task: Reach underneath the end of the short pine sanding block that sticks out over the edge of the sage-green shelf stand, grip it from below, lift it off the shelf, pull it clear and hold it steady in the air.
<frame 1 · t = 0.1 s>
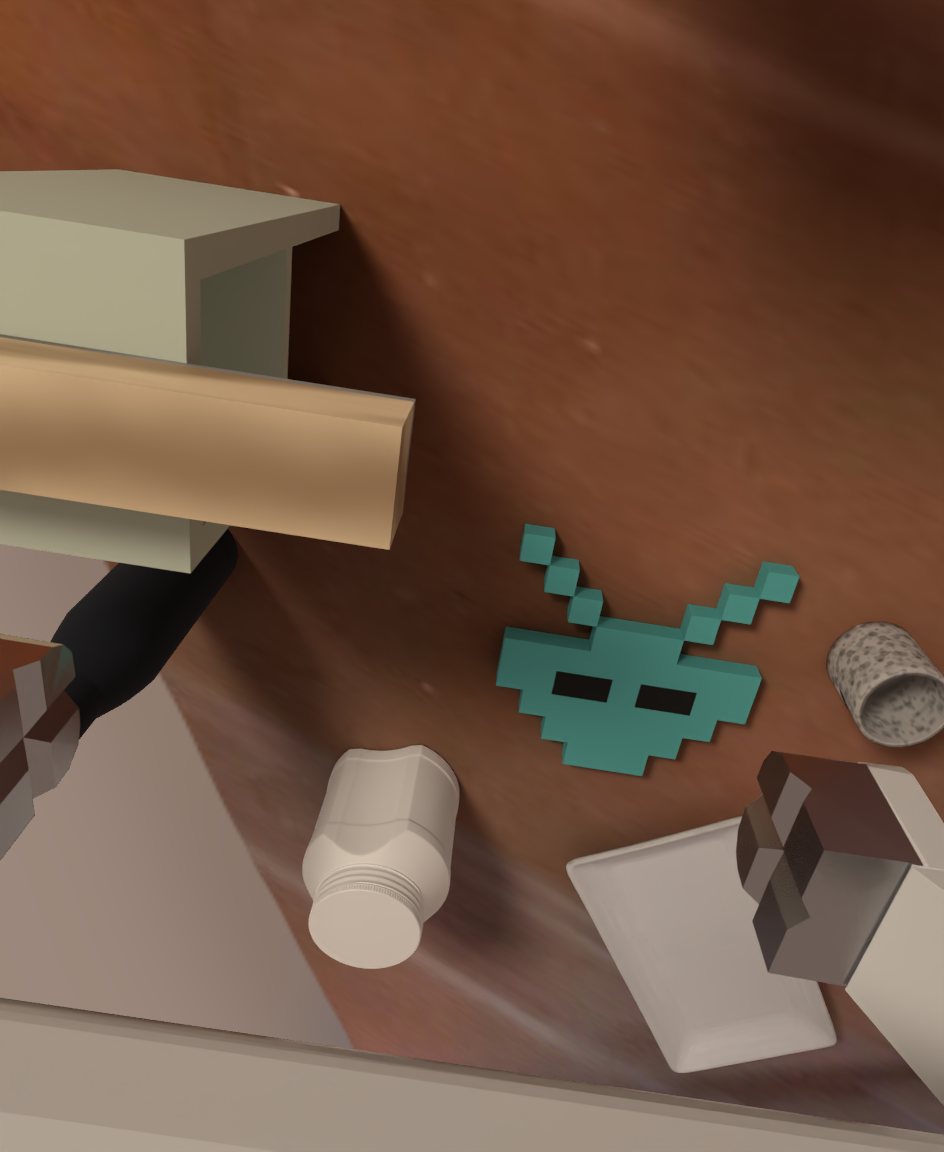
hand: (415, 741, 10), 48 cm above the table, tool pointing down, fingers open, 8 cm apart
grey speckled cup: (889, 663, 64), on the table
alien figure: (626, 653, 66), on the table
tray: (702, 929, 79), on the table
shelf stand: (229, 294, 54), on the table
jar: (395, 787, 73), on the table
sanding block: (161, 418, 31), point 26 cm above the table, touching shelf stand
wine bottle: (197, 547, 63), on the table
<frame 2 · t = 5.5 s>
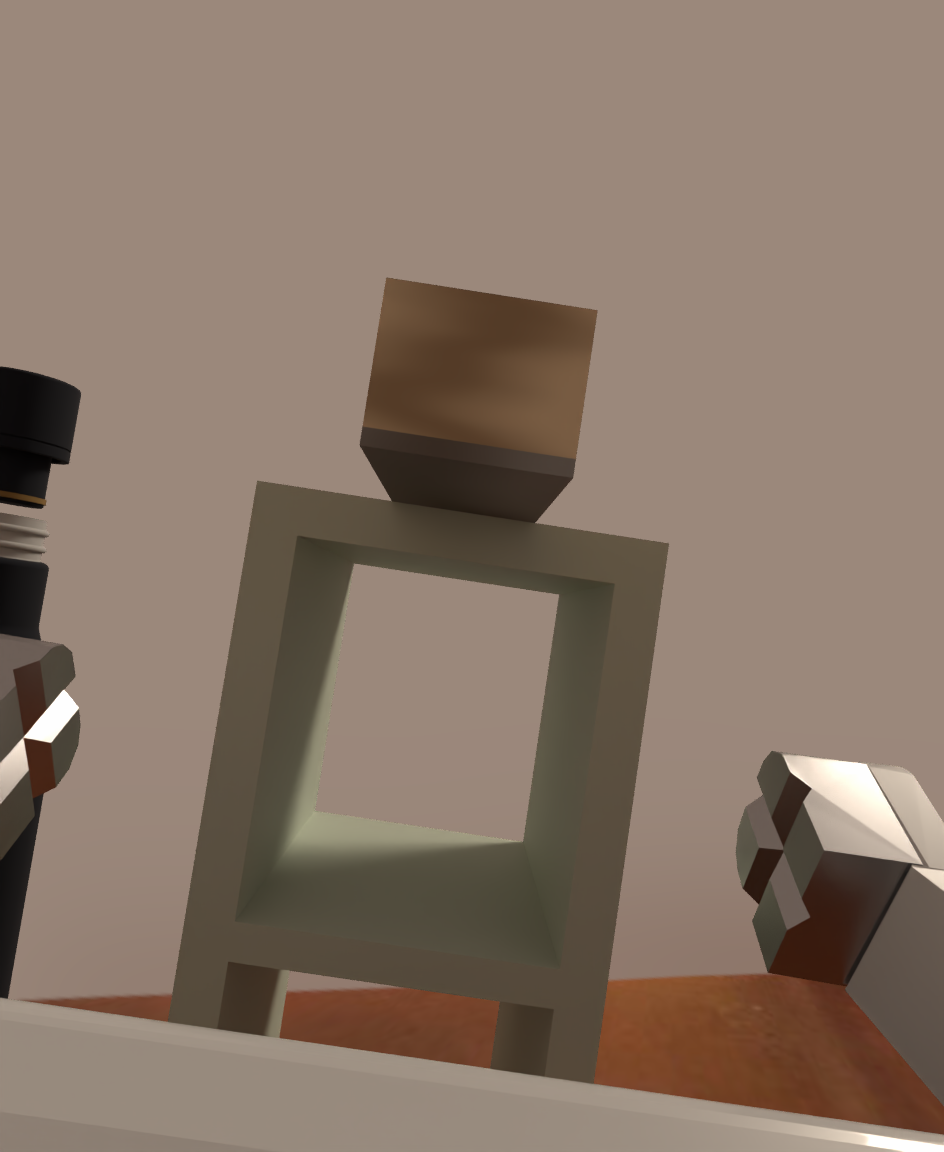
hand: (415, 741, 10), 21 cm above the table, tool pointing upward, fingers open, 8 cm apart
sanding block: (463, 516, 27), point 26 cm above the table, touching shelf stand
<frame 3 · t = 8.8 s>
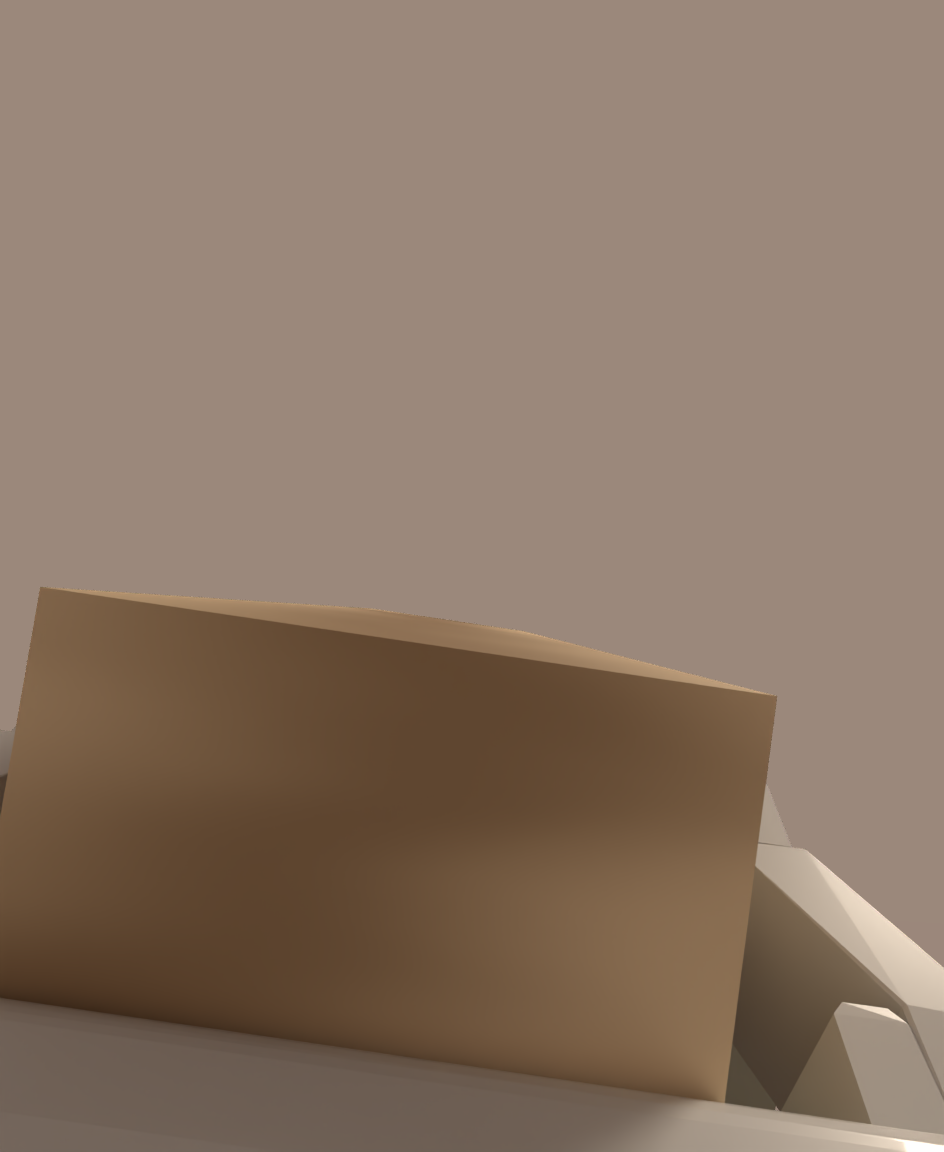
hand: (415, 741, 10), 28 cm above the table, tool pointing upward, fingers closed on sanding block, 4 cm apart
sanding block: (410, 828, 14), point 26 cm above the table, touching gripper, shelf stand
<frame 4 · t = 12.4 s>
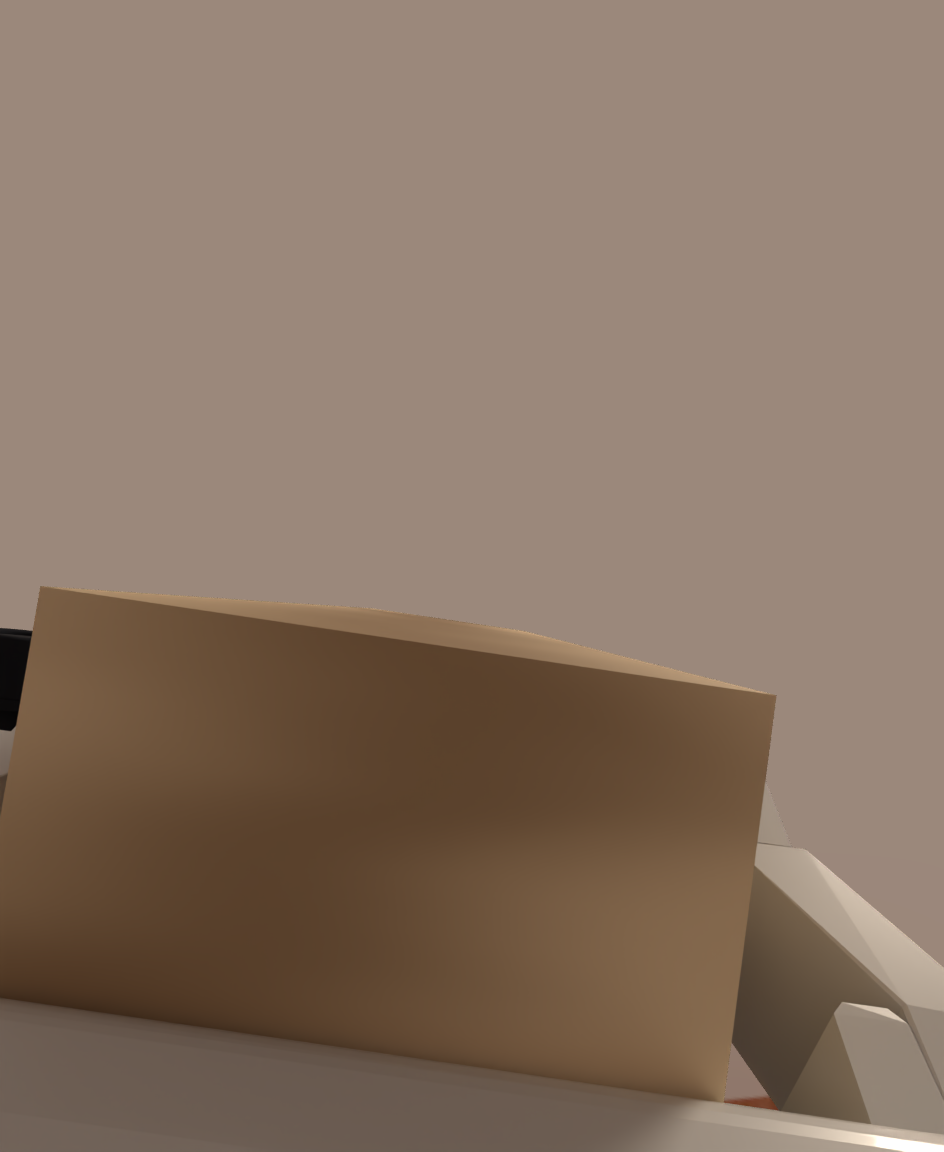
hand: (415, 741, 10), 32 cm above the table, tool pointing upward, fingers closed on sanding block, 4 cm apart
sanding block: (410, 828, 14), point 30 cm above the table, touching gripper
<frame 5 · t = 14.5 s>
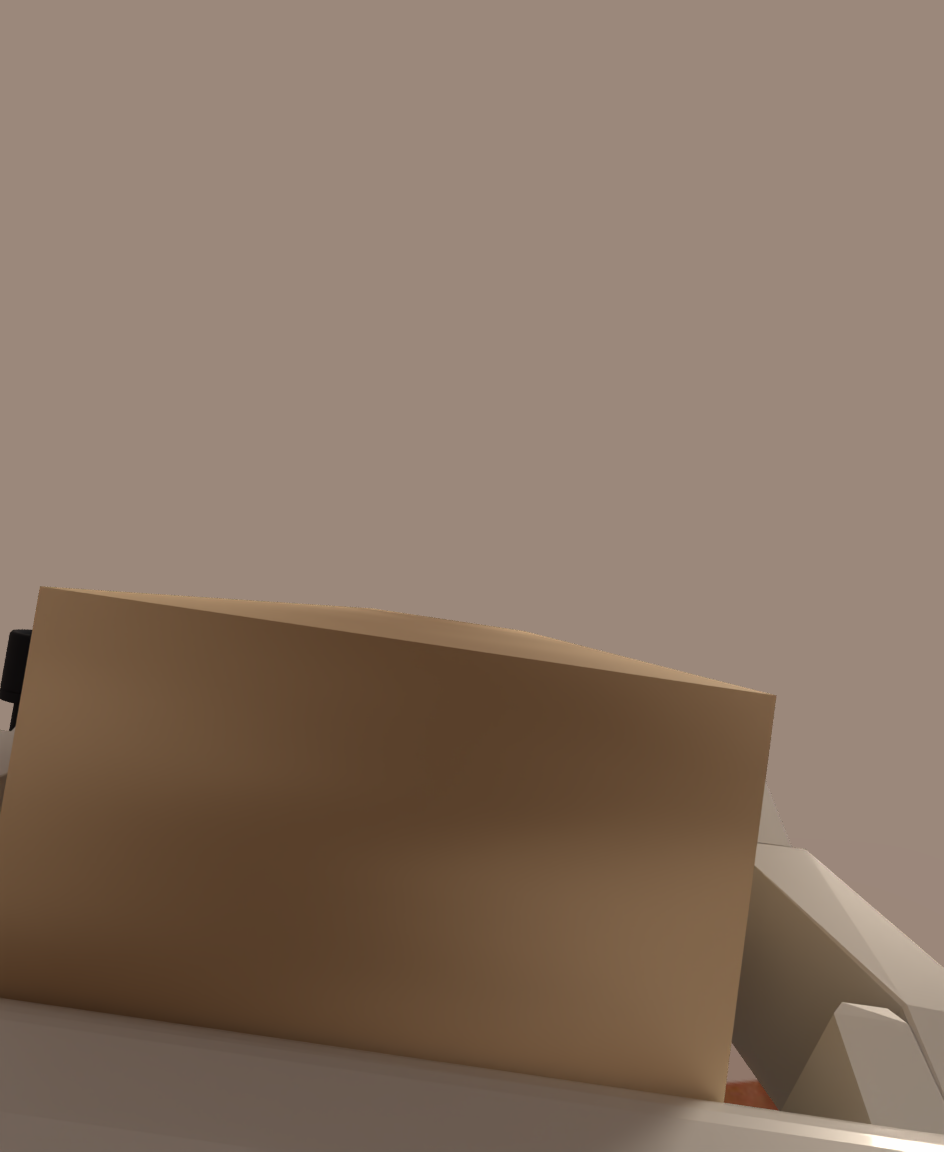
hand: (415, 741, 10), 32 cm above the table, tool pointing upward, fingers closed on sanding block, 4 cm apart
sanding block: (410, 828, 14), point 30 cm above the table, touching gripper
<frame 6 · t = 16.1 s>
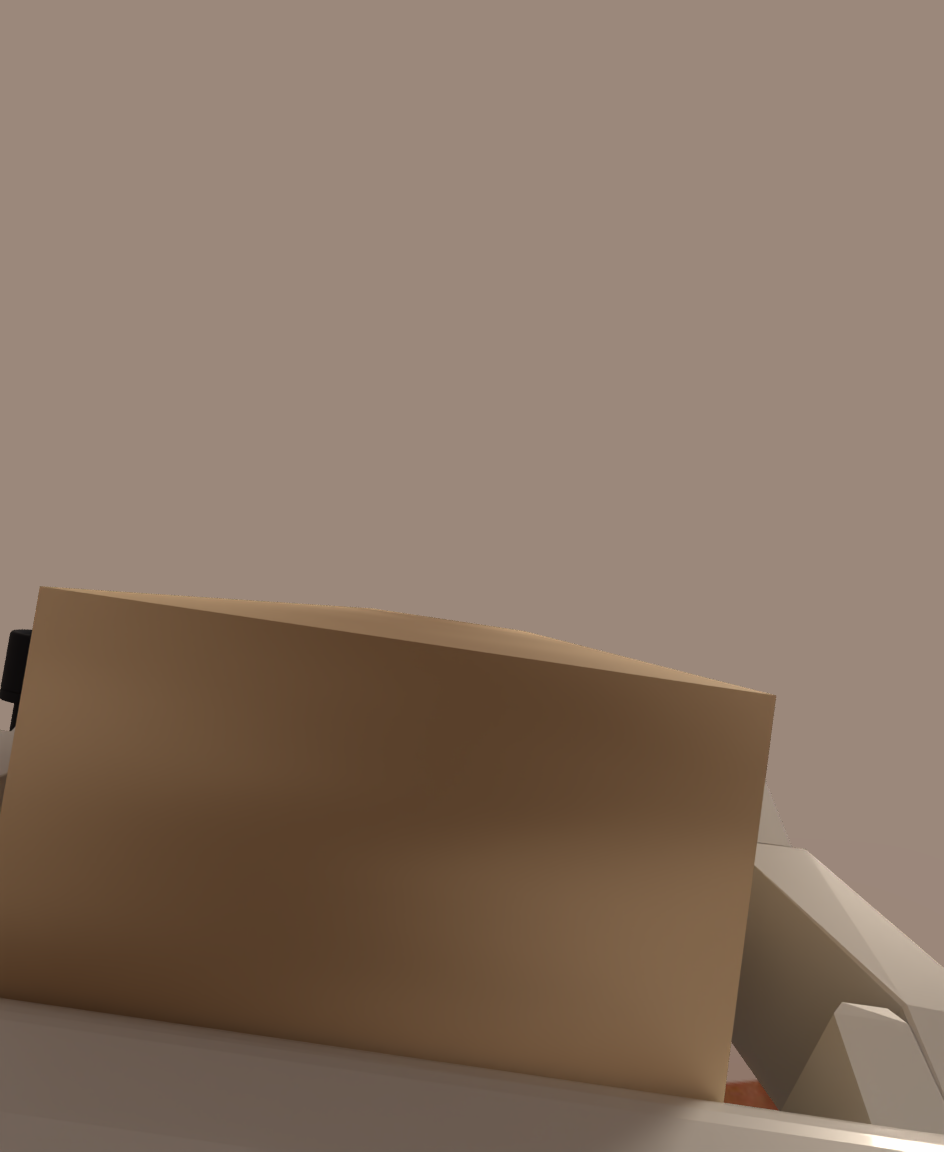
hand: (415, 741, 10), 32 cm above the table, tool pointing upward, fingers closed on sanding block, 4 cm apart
sanding block: (410, 828, 14), point 30 cm above the table, touching gripper
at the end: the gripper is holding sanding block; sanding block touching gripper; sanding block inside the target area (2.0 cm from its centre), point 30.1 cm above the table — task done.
